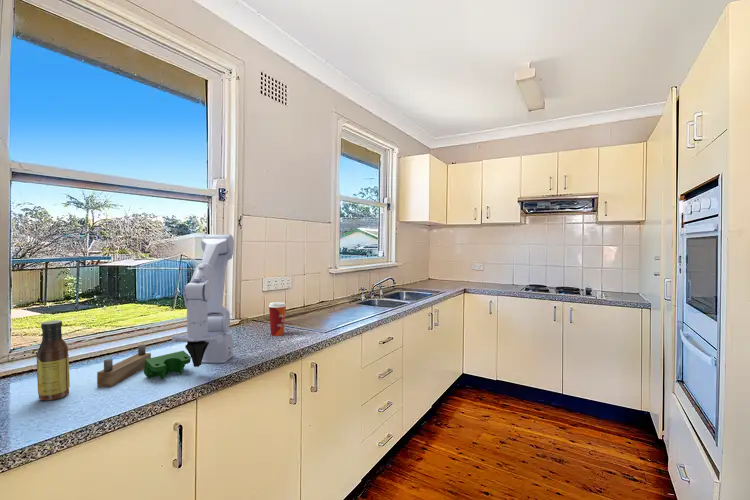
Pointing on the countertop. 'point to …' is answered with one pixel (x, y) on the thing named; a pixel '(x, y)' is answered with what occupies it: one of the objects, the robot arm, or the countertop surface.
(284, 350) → the countertop surface
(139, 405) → the countertop surface
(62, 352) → the sauce bottle
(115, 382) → the bar
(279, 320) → the paper cup
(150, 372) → the clamp
